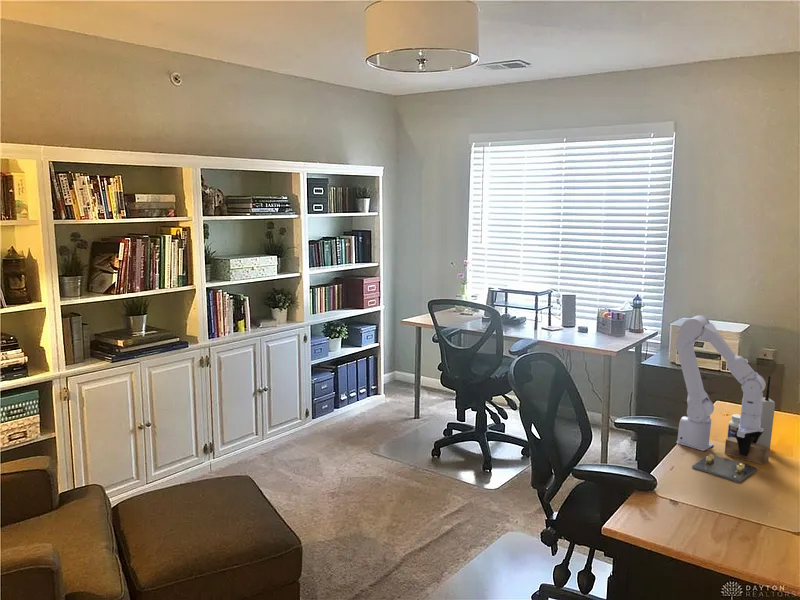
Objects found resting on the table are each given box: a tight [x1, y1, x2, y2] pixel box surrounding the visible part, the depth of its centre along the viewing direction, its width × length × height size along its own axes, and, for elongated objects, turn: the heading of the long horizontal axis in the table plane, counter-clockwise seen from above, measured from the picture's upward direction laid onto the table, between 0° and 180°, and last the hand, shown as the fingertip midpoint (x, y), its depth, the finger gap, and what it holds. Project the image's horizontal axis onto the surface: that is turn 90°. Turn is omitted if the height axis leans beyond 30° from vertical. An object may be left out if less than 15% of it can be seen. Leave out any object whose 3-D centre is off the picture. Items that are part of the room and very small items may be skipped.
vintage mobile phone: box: [757, 375, 776, 448], centre depth 218 cm, size 4×5×25 cm
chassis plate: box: [691, 453, 758, 484], centre depth 202 cm, size 14×14×3 cm
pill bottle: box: [726, 413, 741, 439], centre depth 223 cm, size 5×5×10 cm
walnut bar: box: [724, 437, 771, 466], centre depth 211 cm, size 12×4×5 cm, turn 43°
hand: (746, 453), depth 211 cm, fingers open, 5 cm apart
